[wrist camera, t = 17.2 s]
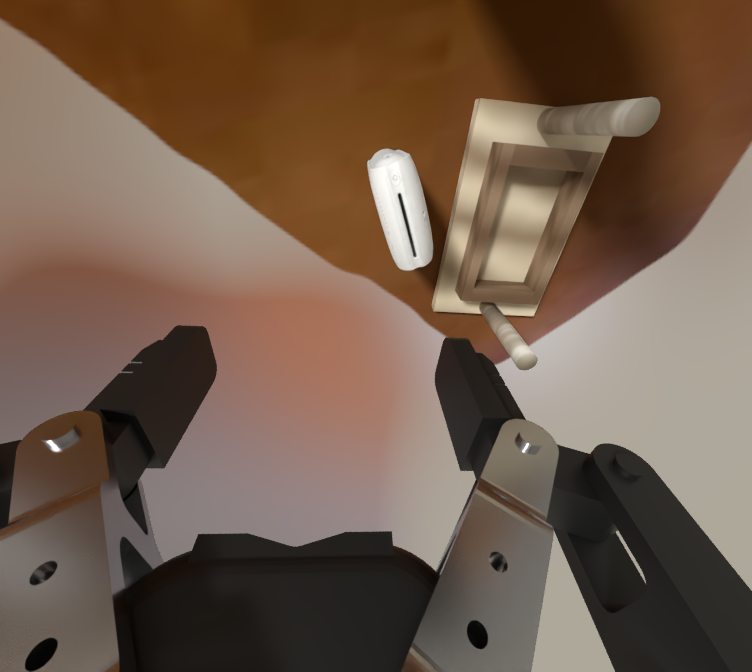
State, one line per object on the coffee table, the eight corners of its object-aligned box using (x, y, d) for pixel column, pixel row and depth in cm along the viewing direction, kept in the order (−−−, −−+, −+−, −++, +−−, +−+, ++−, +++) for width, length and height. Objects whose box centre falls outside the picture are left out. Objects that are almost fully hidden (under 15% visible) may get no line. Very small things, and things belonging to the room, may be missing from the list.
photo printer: (361, 155, 33) (363, 167, 23) (399, 141, 33) (418, 147, 22) (388, 244, 39) (399, 285, 29) (420, 233, 38) (443, 271, 28)
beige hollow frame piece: (475, 99, 31) (545, 81, 19) (611, 115, 32) (753, 107, 21) (431, 306, 44) (457, 368, 33) (528, 311, 46) (586, 373, 34)
